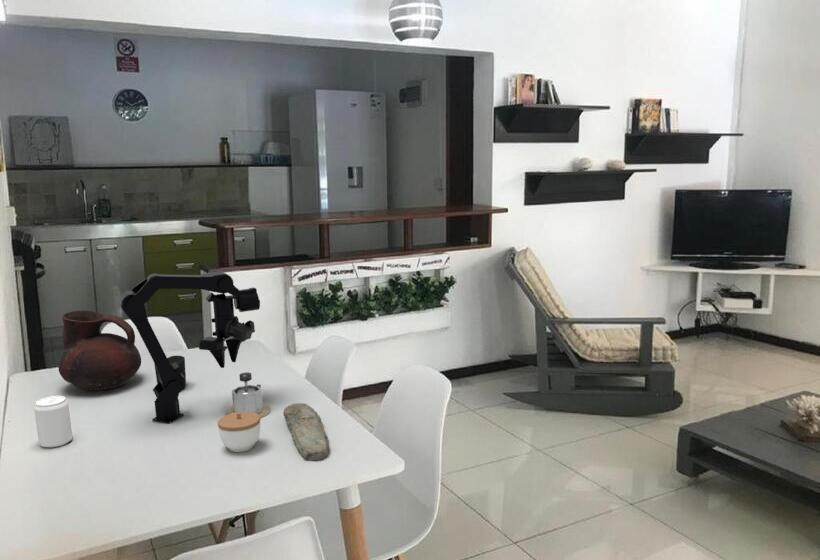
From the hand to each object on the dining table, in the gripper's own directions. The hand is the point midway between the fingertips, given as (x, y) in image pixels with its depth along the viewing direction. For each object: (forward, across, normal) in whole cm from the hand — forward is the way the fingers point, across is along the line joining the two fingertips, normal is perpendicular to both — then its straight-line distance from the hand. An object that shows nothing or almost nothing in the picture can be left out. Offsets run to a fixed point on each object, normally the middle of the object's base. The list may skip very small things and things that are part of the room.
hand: (228, 364), depth 205 cm
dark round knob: (+7, -3, -8) cm, 11 cm away
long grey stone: (+14, -12, -32) cm, 37 cm away
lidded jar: (+13, -24, -20) cm, 34 cm away
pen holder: (+13, +7, +28) cm, 32 cm away
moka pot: (+13, -3, -8) cm, 16 cm away
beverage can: (+13, -37, +30) cm, 49 cm away
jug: (+13, +3, +53) cm, 55 cm away
